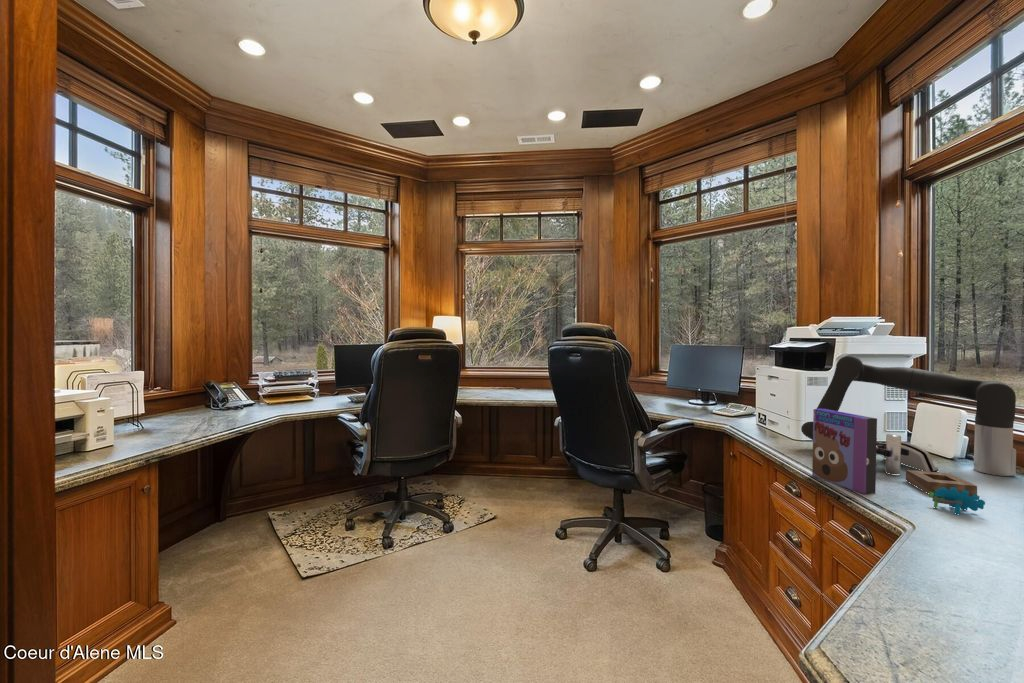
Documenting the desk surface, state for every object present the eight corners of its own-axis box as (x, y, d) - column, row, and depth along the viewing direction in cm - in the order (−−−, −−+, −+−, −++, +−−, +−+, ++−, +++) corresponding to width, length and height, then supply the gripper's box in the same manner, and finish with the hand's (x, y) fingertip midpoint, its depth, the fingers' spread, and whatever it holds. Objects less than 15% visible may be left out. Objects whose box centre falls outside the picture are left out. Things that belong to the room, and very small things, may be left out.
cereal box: (812, 476, 149) (813, 408, 149) (822, 475, 150) (824, 408, 150) (863, 494, 132) (865, 418, 132) (875, 493, 133) (877, 417, 133)
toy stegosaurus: (990, 509, 117) (978, 488, 114) (989, 528, 115) (976, 507, 112) (936, 501, 127) (924, 481, 124) (933, 519, 124) (921, 499, 121)
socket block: (950, 485, 140) (950, 473, 140) (977, 498, 129) (977, 486, 129) (905, 481, 144) (905, 469, 144) (927, 494, 133) (928, 481, 133)
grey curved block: (940, 472, 153) (932, 447, 153) (929, 477, 153) (921, 451, 153) (895, 458, 170) (888, 435, 170) (885, 463, 170) (877, 440, 169)
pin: (896, 472, 153) (897, 434, 153) (902, 476, 149) (903, 437, 149) (883, 471, 154) (883, 433, 154) (888, 475, 150) (889, 436, 150)
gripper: (838, 433, 164) (884, 444, 148) (868, 431, 167) (915, 442, 151) (838, 452, 164) (883, 465, 148) (867, 450, 167) (915, 462, 151)
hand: (899, 453), depth 150 cm, fingers open, 7 cm apart
